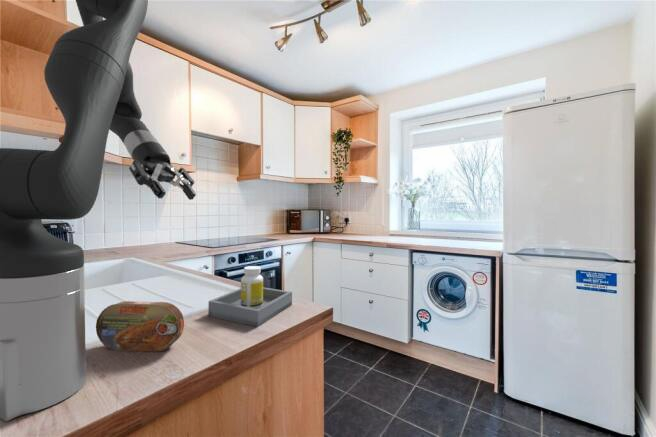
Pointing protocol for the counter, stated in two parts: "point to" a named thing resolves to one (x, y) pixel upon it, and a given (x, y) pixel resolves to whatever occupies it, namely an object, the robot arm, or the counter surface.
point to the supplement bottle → (252, 287)
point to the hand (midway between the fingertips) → (178, 196)
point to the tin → (139, 326)
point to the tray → (233, 311)
